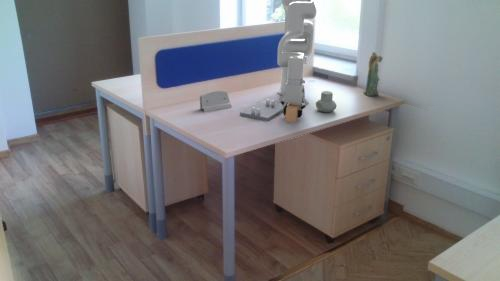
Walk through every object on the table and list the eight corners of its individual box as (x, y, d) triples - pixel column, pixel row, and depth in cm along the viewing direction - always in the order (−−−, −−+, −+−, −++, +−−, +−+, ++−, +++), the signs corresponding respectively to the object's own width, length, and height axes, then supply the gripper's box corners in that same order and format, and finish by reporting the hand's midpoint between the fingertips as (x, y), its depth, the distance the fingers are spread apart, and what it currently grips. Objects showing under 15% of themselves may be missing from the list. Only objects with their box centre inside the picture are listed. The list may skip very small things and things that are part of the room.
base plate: (258, 104, 261) (258, 96, 259) (285, 109, 253) (285, 101, 252) (240, 115, 244) (240, 106, 243) (267, 120, 237) (268, 112, 235)
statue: (380, 94, 283) (385, 52, 273) (370, 96, 278) (375, 54, 269) (372, 91, 288) (377, 50, 278) (361, 93, 284) (366, 51, 274)
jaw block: (289, 114, 248) (290, 101, 245) (299, 115, 247) (300, 102, 244) (285, 121, 237) (286, 108, 235) (295, 122, 236) (296, 109, 233)
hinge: (204, 111, 248) (200, 92, 247) (200, 112, 252) (197, 93, 251) (232, 107, 256) (229, 88, 255) (228, 107, 260) (225, 89, 259)
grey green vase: (313, 108, 257) (315, 90, 253) (327, 106, 260) (329, 89, 256) (323, 114, 248) (325, 96, 244) (337, 113, 250) (339, 94, 246)
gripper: (314, 82, 234) (311, 116, 241) (281, 77, 242) (280, 110, 248) (308, 85, 228) (305, 121, 235) (275, 80, 236) (273, 114, 242)
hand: (292, 115), depth 241 cm, fingers open, 6 cm apart
